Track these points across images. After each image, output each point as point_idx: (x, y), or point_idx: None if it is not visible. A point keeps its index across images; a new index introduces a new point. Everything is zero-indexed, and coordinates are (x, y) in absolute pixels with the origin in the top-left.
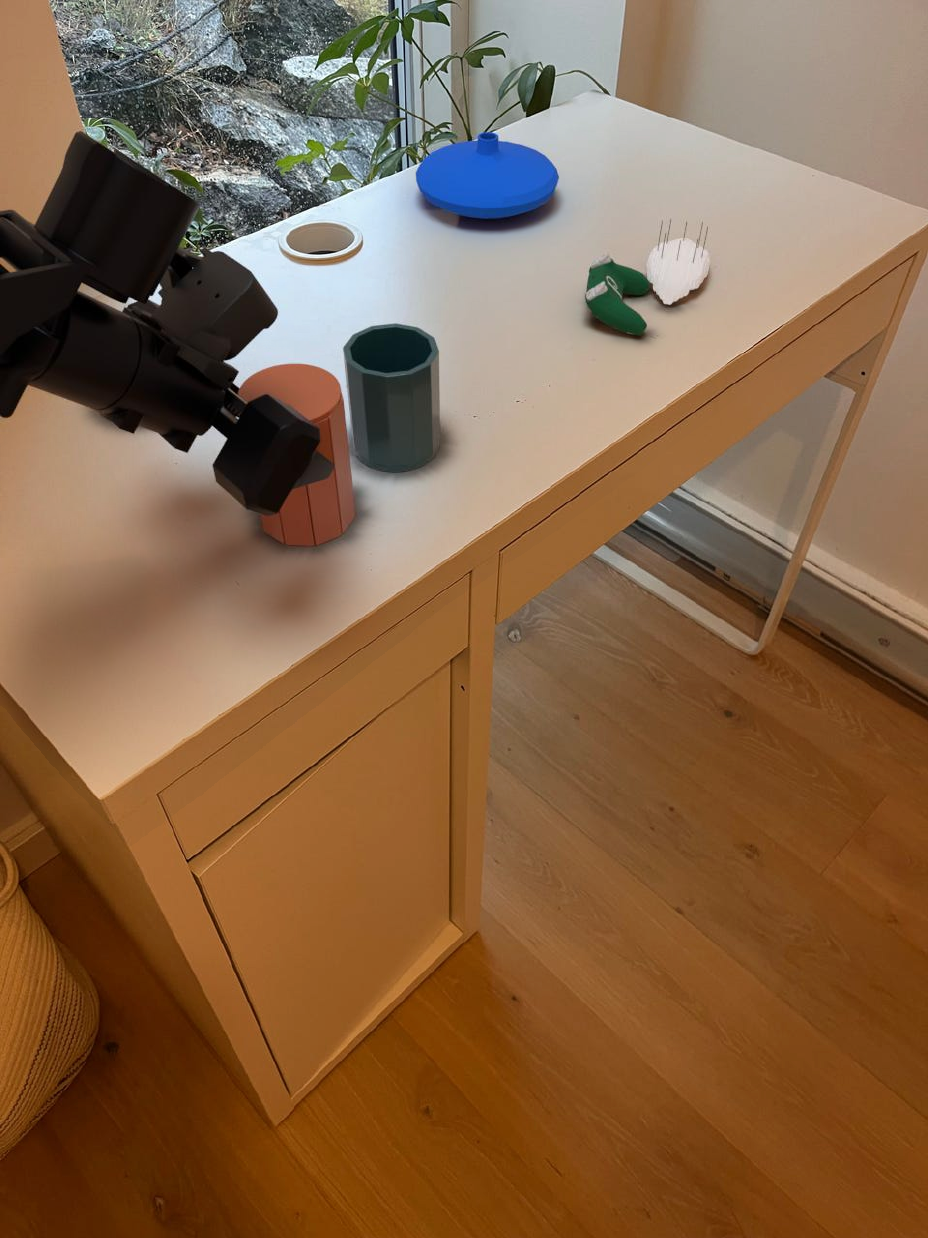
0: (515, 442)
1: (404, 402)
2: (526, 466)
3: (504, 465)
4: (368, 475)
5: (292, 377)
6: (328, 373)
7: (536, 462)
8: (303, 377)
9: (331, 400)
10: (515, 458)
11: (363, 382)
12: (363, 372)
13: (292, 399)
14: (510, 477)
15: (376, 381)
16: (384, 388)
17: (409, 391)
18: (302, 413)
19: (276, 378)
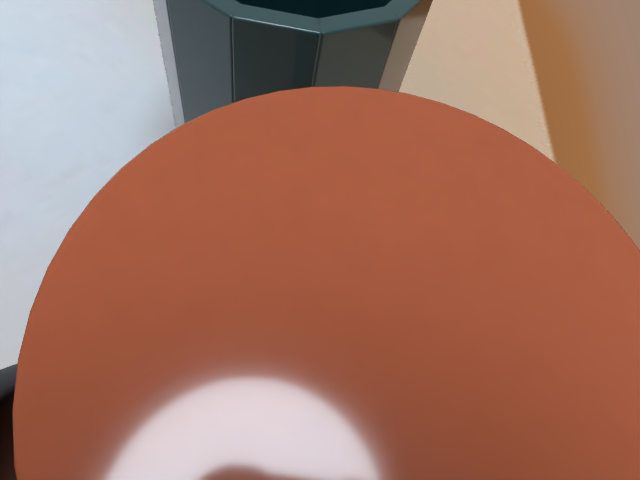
0: (426, 58)
1: (399, 74)
2: (483, 91)
3: (458, 105)
4: None
5: (275, 217)
6: (392, 98)
7: (486, 77)
8: (324, 183)
9: (601, 240)
10: (456, 85)
11: (320, 66)
12: (327, 33)
13: (458, 373)
14: (489, 121)
15: (363, 46)
16: (382, 58)
17: (416, 38)
18: (634, 441)
19: (202, 281)
